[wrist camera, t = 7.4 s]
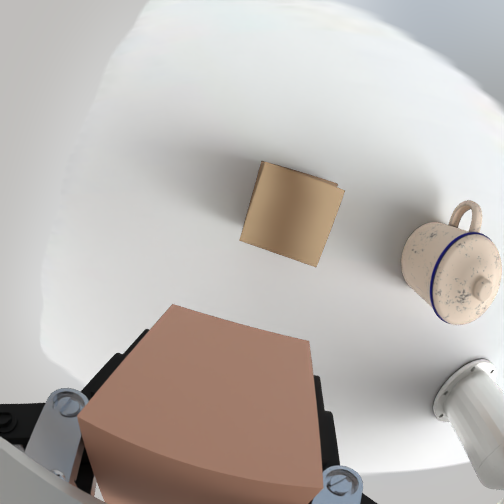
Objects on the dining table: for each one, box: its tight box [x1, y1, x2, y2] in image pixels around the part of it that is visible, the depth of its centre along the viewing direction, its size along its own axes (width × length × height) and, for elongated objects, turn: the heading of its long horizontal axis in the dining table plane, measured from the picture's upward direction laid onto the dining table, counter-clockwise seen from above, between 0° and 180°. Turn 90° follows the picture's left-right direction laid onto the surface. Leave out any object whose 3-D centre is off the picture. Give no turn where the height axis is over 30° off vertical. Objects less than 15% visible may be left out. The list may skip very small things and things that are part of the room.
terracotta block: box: [77, 304, 324, 504], centre depth 8 cm, size 5×5×6 cm
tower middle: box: [239, 162, 345, 267], centre depth 23 cm, size 6×6×5 cm
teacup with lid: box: [401, 200, 502, 325], centre depth 24 cm, size 12×9×12 cm
